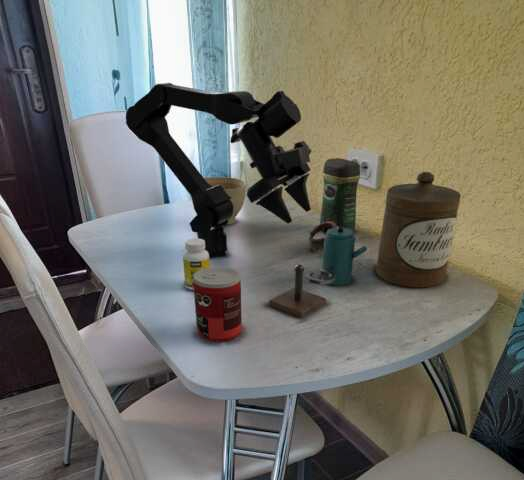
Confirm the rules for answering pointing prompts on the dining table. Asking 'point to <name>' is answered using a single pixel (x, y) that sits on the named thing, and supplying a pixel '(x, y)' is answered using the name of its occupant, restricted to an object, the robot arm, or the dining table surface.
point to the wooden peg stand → (297, 298)
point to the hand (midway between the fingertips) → (299, 216)
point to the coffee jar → (340, 192)
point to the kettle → (337, 258)
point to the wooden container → (417, 233)
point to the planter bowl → (231, 192)
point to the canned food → (218, 303)
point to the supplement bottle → (194, 260)
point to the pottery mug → (319, 243)
